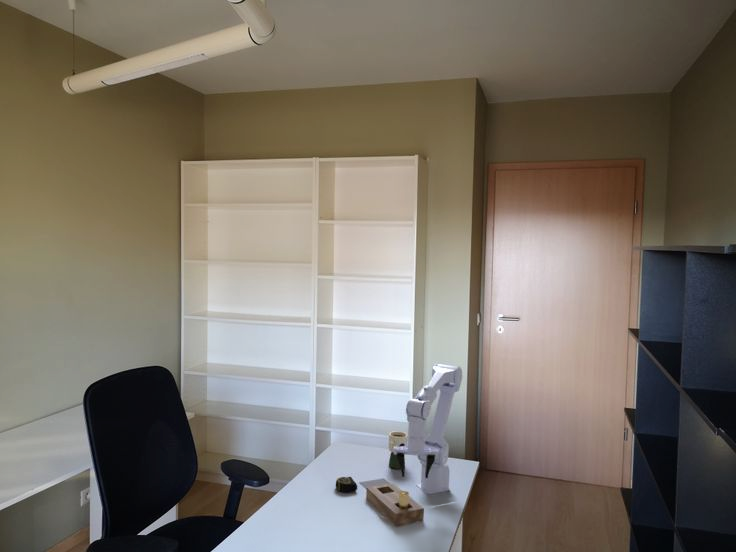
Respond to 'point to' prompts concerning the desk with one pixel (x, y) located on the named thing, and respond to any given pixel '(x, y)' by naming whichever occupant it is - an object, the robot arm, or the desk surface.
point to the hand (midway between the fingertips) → (414, 476)
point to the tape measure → (346, 484)
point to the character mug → (396, 441)
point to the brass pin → (403, 500)
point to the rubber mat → (374, 483)
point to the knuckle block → (394, 505)
